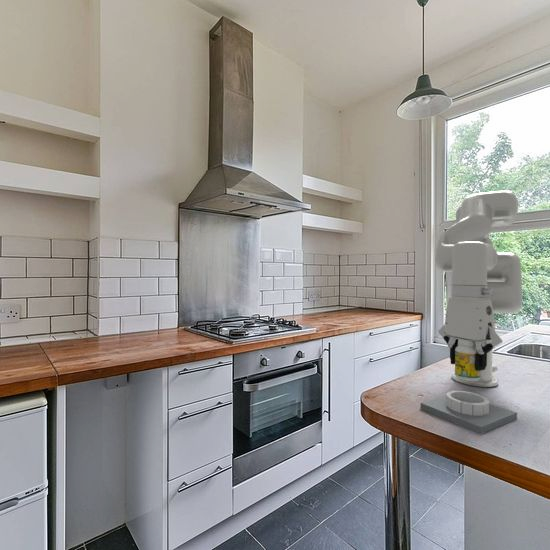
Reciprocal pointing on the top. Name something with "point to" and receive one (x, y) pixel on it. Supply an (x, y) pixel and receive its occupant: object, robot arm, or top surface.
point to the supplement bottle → (466, 360)
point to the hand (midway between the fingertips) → (467, 365)
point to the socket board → (469, 419)
